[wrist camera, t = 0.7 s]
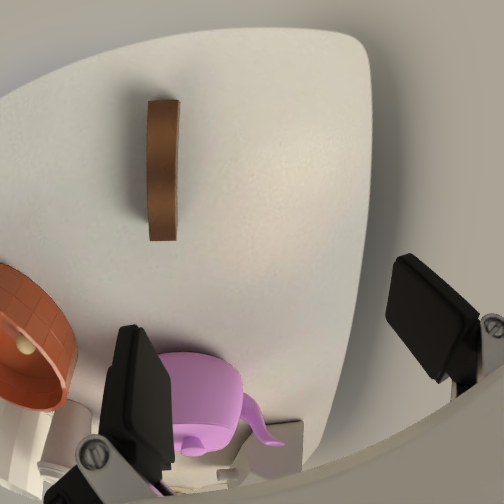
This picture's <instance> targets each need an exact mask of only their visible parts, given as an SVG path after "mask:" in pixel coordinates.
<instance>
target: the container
mask: <svg viewBox="0 0 504 504" xmlns="http://www.w3.org/2000/svg"><path fill="white" fill-rule="evenodd" d="M50 425H51V419H50V417H49V416H48V415H47V414H46V413H45V412H36V411H32V410H27V409H23V408H20V407H18V406H15V405H13V404H10V403H8V402H6V401H5V400H3V399H1V398H0V485H1V486H3V487H5V488H7V489H9V490H11V491H13V492H16V493H18V494H20V495H23V496H26V497H28V498H32V499H35V500H40V501H41V500H42V490H43V479H42V478H41V477H40V472H39V470H38V468H37V462H38V461H40V459H41V456H42V452H43V448H44V445H45V441H46V438H47V435H48V431H49V428H50Z"/></svg>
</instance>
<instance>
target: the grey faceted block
mask: <svg viewBox="0 0 504 504" xmlns="http://www.w3.org/2000/svg"><path fill="white" fill-rule="evenodd" d="M266 428H267V430H268V431H269V433H270V434H271V435H272V436H273V437H274V438H276V439H277V440H279V441H281V442H283V443H284V444H285V445H284V446H269V445H266V444H264V443H262V442H261V441H260V440H259V439H258V438H257V437H256V435H255V434H254V432H252V434H251V435H250V436H249V437H248V438H247V440H246V441H245V442H244V443H243V445H242V446H241V448H240V450H239V452H238V454H237V456H236V458H235V460H234V461H233V463H232V465H231V467H230V469H219V470H217V479H218V481H224V480H227V485H228V489H229V488H235V487H241V486H246V485H251V484H256V483H261V482H265V481H270V480H274V479H278V478H282V477H285V476H289V475H293V474H296V473H300V472H301V470H302V454H303V432H304V422H303V421H299V422H291V423H283V424H274V425H266Z"/></svg>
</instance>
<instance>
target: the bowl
mask: <svg viewBox="0 0 504 504" xmlns="http://www.w3.org/2000/svg"><path fill="white" fill-rule="evenodd" d="M19 332H22V334H23V335H24V336H25V337H26V338H27V339H28V340H29V341H30V342H31V343H32V344H33V345H35V346H36V349H35V351H34V352H33V353H31V354H24V353H22V352H20V351H19V349H18V348H17V345H16V336H17V334H18V333H19ZM77 356H78V348H77V343H76V339H75V336H74V333H73V331H72V329H71V326H70V324H69V323H68V321H67V319H66V317H65V316H64V315H63V313H62V312H61V310H60V309H59V307H58V306H57V305H56V304H55V303H54V301H53V300H52V299H51V298H50V297H49V296H48V295H47V294H46V293H45V292H44V291H43V290H42V289H41V288H40V287H39V286H38V285H37V284H36V283H34V282H33V281H32V280H30V279H29V278H28V277H26V276H25V275H23V274H22V273H20V272H19V271H17V270H15V269H13V268H11V267H9V266H7V265H4V264H2V263H0V398H1V399H3V400H5V401H6V402H8V403H10V404H13V405H15V406H18V407H20V408H23V409H27V410H32V411H36V412H51V411H54V410H58V409H60V408H61V407H62V406H63V405H64V404H65V403H66V400H67V396H68V392H69V388H70V384H71V380H72V376H73V372H74V369H75V365H76V361H77Z"/></svg>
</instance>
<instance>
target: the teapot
mask: <svg viewBox="0 0 504 504" xmlns="http://www.w3.org/2000/svg"><path fill="white" fill-rule="evenodd" d="M158 356H159V358H160V360H161V361H162V363H163V365H164V367H165V368H166V370H167V372H168V373H169V376H170V379H171V397H172V422H173V439H174V452H180V453H181V454H183V455H186V456H200V455H203V454H205V453H206V452H212V451H217V450H220V449H223V448H224V447H225V446H226V445H228V443H229V442H230V441H231V439H232V437H233V435H234V432H235V430H236V427H237V424H238V421H239V418H241V419H243V420H245V421H246V422H247V423H248V424H249V425H250V427H251V428H252V430H253V432H254V434H255V435H256V437H257V438H258V439H259V440H260V441H261V442H262V443H264V444H266V445H269V446H284V445H285V444H284V443H283V442H281V441H279V440H277V439H276V438H274V437H273V436H272V435H271V434H270V433H269V431H268V430H267V428H266V425H265V423H264V420H263V416H262V413H261V410H260V408H259V406H258V404H257V403H256V402H255V400H254V399H252V398H251V397H250V396H249V395H247V394H245V393H244V392H243V383H242V378H241V375H240V374H239V372H238V371H237V370H236V369H235V368H234V367H233V366H232V365H230V364H229V363H227V362H226V361H224V360H222V359H219V358H217V357H213V356H209V355H205V354H200V353H192V352H173V353H164V354H158Z"/></svg>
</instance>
